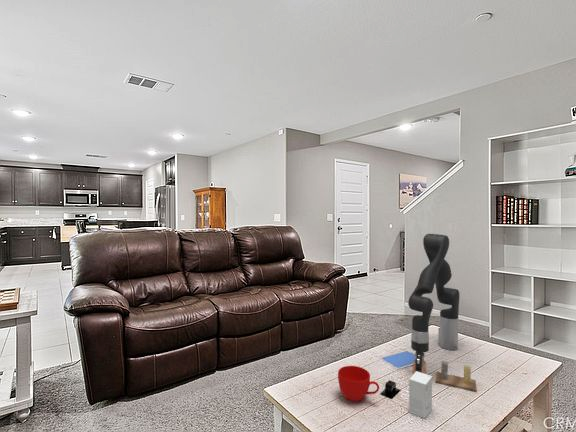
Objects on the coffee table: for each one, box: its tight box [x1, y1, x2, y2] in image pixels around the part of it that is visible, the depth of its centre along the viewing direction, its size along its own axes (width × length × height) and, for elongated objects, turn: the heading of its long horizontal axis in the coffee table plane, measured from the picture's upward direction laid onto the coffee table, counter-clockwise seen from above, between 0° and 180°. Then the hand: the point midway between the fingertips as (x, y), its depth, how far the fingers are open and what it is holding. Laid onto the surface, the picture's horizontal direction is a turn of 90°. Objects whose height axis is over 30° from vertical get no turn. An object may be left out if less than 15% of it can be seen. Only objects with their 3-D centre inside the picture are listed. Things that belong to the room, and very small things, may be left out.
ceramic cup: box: [337, 365, 380, 403], centre depth 134 cm, size 13×17×10 cm
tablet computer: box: [380, 350, 426, 371], centre depth 168 cm, size 19×13×1 cm, turn 117°
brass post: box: [463, 365, 472, 385], centre depth 144 cm, size 3×3×7 cm
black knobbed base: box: [379, 380, 402, 400], centre depth 139 cm, size 12×7×5 cm, turn 137°
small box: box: [408, 371, 433, 419], centre depth 126 cm, size 8×6×13 cm
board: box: [434, 360, 478, 393], centre depth 146 cm, size 16×9×8 cm, turn 63°
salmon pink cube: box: [412, 359, 427, 375], centre depth 151 cm, size 5×5×7 cm
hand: (419, 375), depth 151 cm, fingers closed on salmon pink cube, 5 cm apart
